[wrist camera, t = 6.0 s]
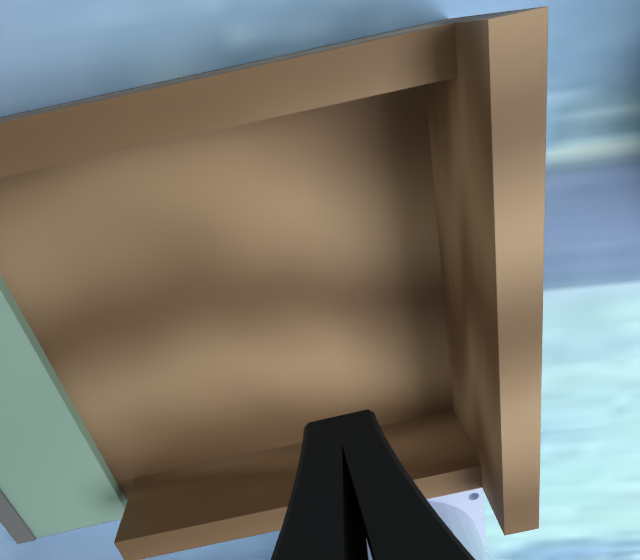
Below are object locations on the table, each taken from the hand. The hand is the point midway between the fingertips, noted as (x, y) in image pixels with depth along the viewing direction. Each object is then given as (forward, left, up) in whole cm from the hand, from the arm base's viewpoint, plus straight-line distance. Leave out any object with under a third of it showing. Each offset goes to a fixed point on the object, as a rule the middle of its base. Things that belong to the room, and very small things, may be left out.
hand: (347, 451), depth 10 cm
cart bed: (-1, +2, -9) cm, 10 cm away
